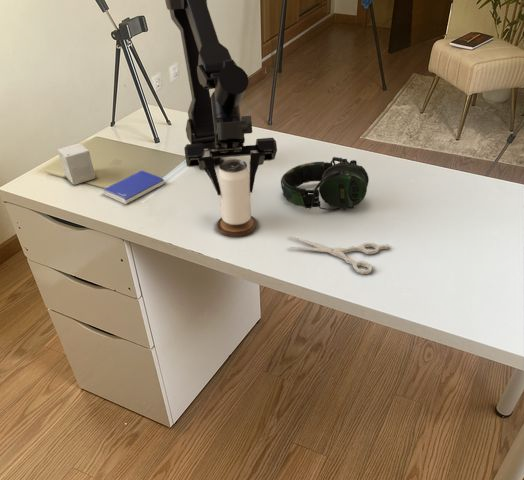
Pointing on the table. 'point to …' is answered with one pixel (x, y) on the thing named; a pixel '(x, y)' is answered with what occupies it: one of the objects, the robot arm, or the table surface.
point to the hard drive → (133, 187)
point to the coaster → (237, 228)
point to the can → (234, 192)
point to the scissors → (341, 251)
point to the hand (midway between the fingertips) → (235, 193)
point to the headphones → (326, 184)
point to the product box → (77, 163)
